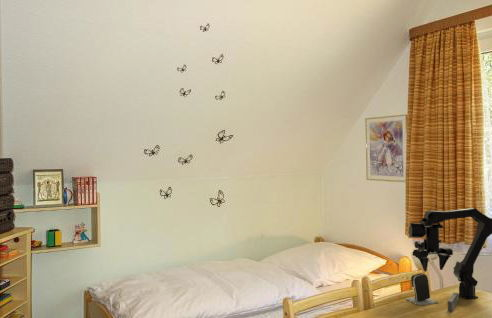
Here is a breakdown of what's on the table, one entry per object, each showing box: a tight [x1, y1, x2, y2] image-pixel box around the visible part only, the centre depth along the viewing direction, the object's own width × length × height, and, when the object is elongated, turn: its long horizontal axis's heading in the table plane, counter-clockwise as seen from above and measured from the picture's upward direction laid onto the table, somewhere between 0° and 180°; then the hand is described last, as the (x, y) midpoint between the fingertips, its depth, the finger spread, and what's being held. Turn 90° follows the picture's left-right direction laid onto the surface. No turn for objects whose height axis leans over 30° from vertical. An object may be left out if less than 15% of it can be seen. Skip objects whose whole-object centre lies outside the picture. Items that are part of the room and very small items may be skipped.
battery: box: [410, 272, 431, 301], centre depth 189 cm, size 7×4×11 cm, turn 105°
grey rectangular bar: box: [447, 292, 459, 312], centre depth 182 cm, size 15×2×4 cm, turn 145°
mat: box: [404, 296, 438, 306], centre depth 189 cm, size 10×9×1 cm
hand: (433, 270), depth 197 cm, fingers open, 9 cm apart
